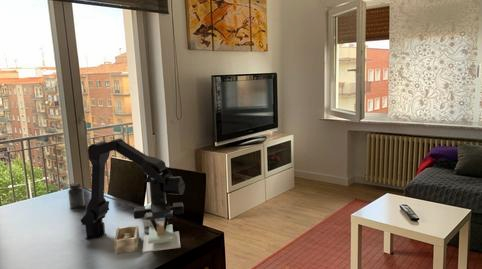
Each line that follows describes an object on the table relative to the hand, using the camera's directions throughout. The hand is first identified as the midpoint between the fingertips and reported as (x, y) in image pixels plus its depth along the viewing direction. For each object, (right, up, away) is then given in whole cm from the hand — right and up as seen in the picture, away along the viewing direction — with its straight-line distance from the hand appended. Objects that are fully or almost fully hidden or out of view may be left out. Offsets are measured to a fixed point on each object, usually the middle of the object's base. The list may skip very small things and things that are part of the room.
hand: (160, 231), depth 144 cm
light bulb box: (-5, -3, +14) cm, 15 cm away
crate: (-13, -5, -1) cm, 14 cm away
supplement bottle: (-52, +1, +43) cm, 68 cm away
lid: (0, -3, 0) cm, 3 cm away
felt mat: (0, -4, +1) cm, 5 cm away
